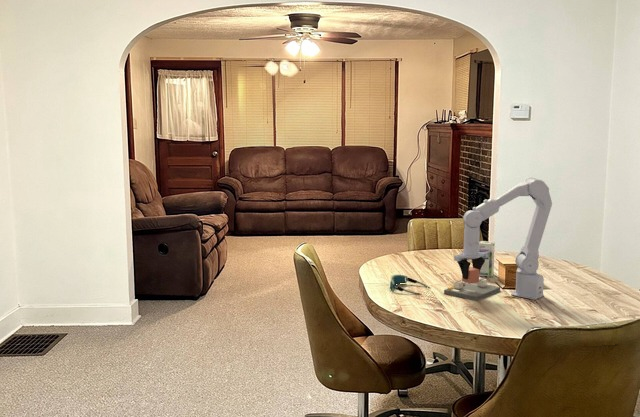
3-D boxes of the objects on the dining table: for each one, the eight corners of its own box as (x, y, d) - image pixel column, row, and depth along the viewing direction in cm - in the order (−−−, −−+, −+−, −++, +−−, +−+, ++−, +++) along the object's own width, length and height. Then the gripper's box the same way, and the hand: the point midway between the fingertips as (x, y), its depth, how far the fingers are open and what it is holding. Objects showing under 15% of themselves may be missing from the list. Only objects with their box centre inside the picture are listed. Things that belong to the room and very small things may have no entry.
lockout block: (478, 282, 230) (479, 269, 229) (469, 283, 228) (470, 270, 227) (471, 279, 233) (471, 267, 233) (462, 281, 232) (462, 268, 231)
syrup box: (477, 276, 259) (478, 242, 257) (480, 273, 264) (481, 240, 262) (490, 277, 257) (492, 243, 255) (493, 274, 262) (495, 241, 260)
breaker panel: (500, 290, 236) (500, 284, 236) (477, 300, 223) (477, 294, 223) (467, 284, 246) (468, 278, 245) (444, 293, 233) (444, 287, 232)
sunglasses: (397, 283, 250) (399, 271, 249) (431, 292, 243) (433, 280, 242) (383, 291, 238) (384, 278, 237) (418, 301, 231) (420, 288, 230)
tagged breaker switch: (462, 287, 235) (463, 280, 234) (458, 289, 233) (459, 282, 232) (457, 286, 236) (457, 279, 236) (453, 288, 234) (453, 280, 234)
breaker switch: (486, 285, 238) (486, 278, 237) (482, 286, 236) (482, 279, 235) (480, 284, 239) (481, 277, 239) (477, 285, 237) (477, 278, 237)
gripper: (463, 246, 222) (461, 282, 224) (493, 242, 228) (492, 278, 230) (450, 242, 228) (449, 278, 230) (481, 239, 234) (480, 274, 236)
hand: (470, 277), depth 230 cm, fingers closed on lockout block, 4 cm apart
